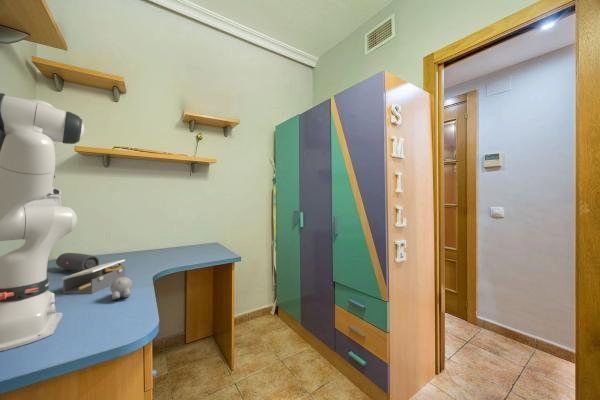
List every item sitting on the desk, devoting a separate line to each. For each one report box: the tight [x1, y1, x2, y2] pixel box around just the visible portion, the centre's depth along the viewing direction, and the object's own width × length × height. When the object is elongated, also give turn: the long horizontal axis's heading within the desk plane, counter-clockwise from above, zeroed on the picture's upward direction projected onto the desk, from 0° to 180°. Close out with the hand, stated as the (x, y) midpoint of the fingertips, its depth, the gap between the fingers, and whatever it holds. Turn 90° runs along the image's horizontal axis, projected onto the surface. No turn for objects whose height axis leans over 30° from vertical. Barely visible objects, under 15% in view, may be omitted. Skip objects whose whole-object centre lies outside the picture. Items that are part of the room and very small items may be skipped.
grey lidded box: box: [62, 266, 126, 295], centre depth 111 cm, size 20×13×6 cm, turn 3°
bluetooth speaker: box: [55, 252, 100, 273], centre depth 133 cm, size 23×9×10 cm, turn 72°
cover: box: [61, 259, 126, 280], centre depth 111 cm, size 20×13×1 cm, turn 3°
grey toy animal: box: [109, 276, 133, 301], centre depth 99 cm, size 7×12×8 cm, turn 37°
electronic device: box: [103, 262, 123, 275], centre depth 133 cm, size 8×16×3 cm, turn 40°
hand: (34, 221), depth 102 cm, fingers closed
